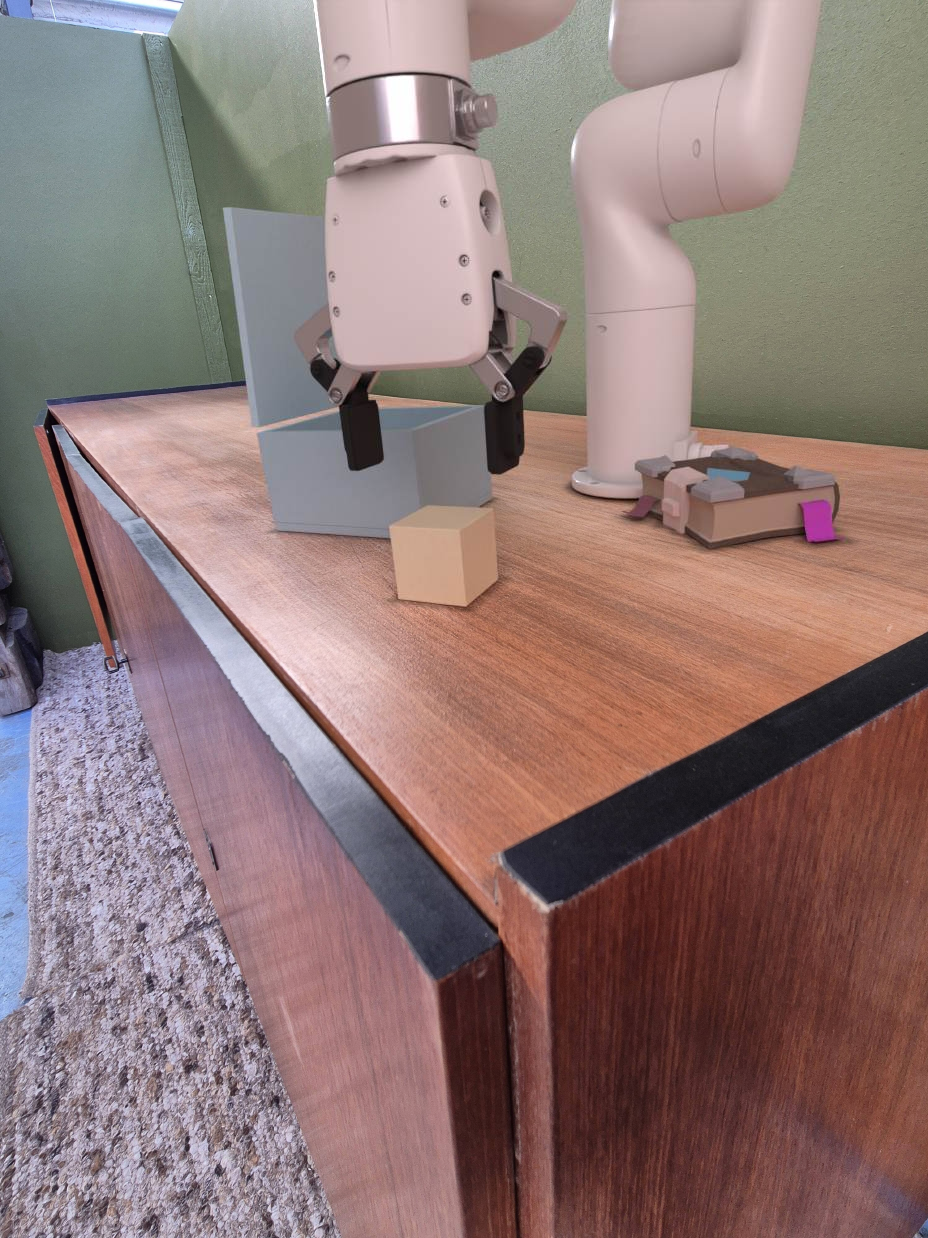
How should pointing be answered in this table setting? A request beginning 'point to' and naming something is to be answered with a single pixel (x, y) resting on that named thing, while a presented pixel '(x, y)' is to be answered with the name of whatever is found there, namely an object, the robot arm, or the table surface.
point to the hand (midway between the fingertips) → (432, 468)
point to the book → (737, 498)
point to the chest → (375, 470)
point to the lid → (277, 308)
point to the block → (444, 554)
